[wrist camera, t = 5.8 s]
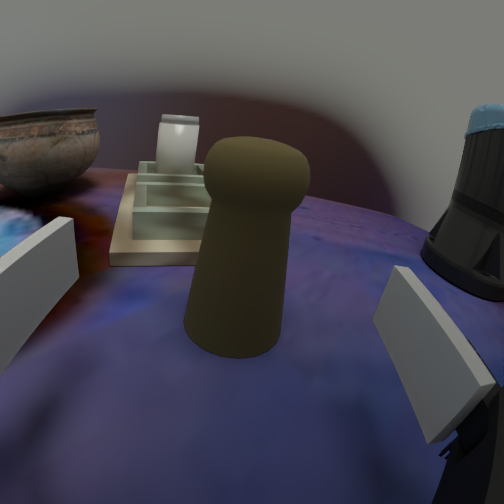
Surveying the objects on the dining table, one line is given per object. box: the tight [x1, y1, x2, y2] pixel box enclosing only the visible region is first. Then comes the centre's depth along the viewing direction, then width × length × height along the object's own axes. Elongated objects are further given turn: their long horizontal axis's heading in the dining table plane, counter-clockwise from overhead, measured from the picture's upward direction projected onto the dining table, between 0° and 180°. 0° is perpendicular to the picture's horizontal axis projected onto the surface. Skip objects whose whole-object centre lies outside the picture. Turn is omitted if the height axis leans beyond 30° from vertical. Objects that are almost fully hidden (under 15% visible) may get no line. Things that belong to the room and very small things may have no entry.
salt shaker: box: [155, 115, 199, 175], centre depth 39 cm, size 6×6×10 cm
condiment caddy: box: [109, 161, 212, 266], centre depth 35 cm, size 14×29×4 cm, turn 19°
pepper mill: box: [184, 137, 310, 358], centre depth 16 cm, size 6×6×11 cm
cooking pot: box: [0, 108, 100, 197], centre depth 33 cm, size 25×19×12 cm
